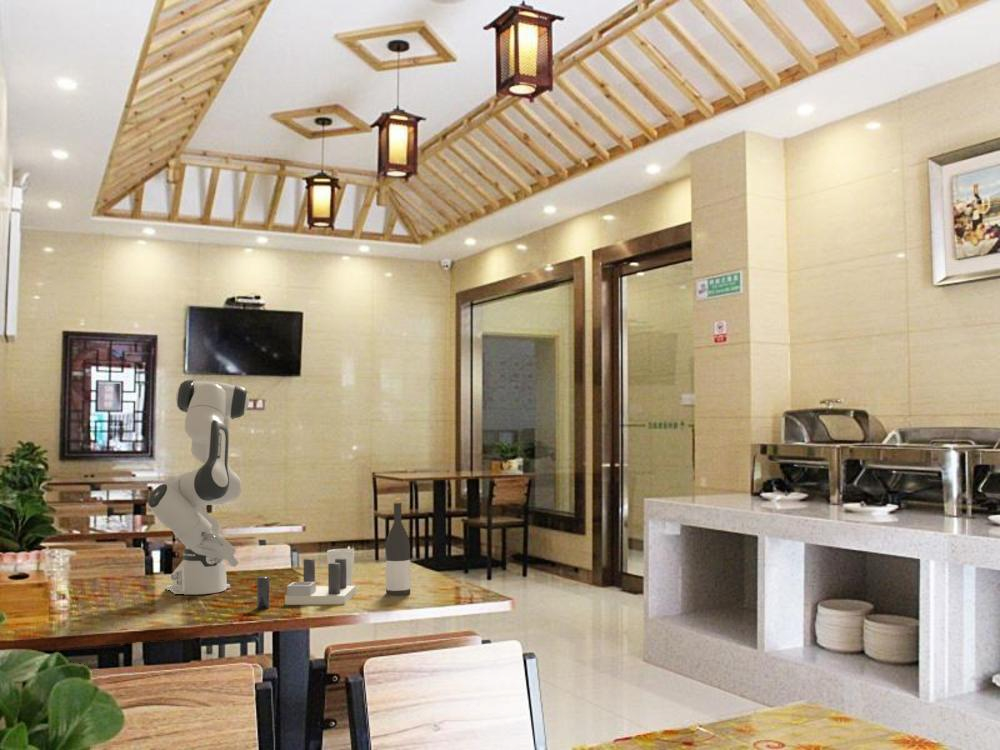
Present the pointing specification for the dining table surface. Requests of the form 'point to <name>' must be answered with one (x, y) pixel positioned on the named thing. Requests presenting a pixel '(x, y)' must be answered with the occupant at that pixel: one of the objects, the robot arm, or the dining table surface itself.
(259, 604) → the dark rounded cylinder
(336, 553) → the cup
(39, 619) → the dining table surface
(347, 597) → the white board with pegs
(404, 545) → the wine bottle
